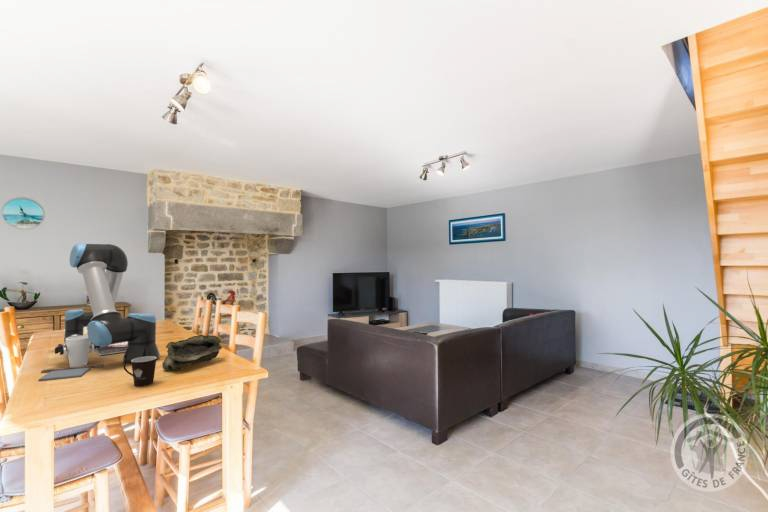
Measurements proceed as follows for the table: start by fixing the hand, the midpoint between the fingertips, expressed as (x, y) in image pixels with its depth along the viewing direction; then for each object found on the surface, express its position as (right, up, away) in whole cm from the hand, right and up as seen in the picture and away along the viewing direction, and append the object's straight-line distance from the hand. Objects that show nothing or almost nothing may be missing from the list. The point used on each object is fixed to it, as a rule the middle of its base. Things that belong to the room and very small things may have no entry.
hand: (79, 350), depth 169 cm
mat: (+3, -8, -10) cm, 13 cm away
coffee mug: (+43, -8, -21) cm, 48 cm away
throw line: (0, -8, -3) cm, 8 cm away
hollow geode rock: (+51, -8, +5) cm, 52 cm away
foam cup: (-3, -8, +3) cm, 9 cm away
